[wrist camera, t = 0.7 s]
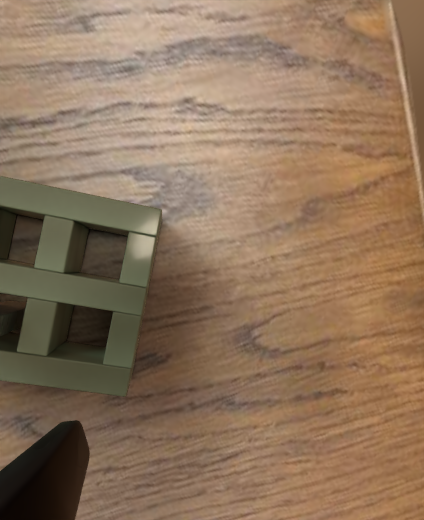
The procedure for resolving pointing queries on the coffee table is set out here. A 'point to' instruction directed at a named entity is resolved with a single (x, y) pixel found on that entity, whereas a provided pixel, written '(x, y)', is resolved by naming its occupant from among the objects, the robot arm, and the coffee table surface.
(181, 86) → the coffee table surface
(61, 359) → the rack
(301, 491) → the coffee table surface
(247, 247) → the coffee table surface
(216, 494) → the coffee table surface
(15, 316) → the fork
